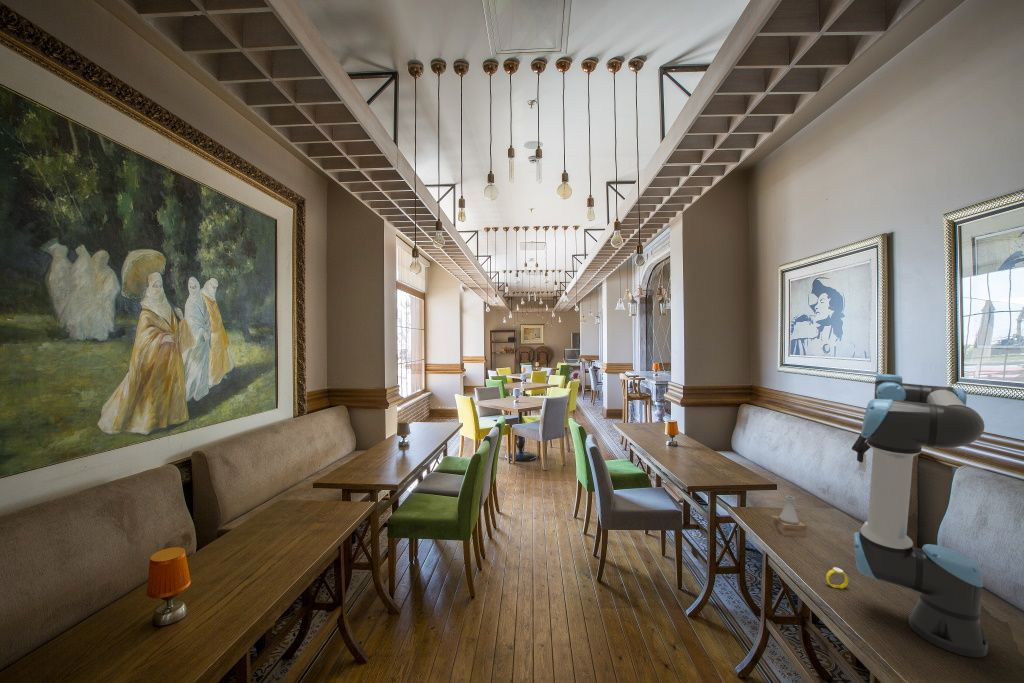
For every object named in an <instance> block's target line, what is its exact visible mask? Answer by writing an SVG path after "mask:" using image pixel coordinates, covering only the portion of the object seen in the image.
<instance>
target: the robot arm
mask: <svg viewBox="0 0 1024 683" xmlns="http://www.w3.org/2000/svg"><path fill="white" fill-rule="evenodd" d="M874 380H875V381H874V394H873V395H874V399H873V398H872V399H871V400H869V401H868V403H867V406H866V409H865V413H864V416H863V420H862V424H861V425H862V426H861V431H860V434H859V436H858V438H856V441H855V442H854V444H853V445H852V447H851V450H852V451H854V452H856V454H857V455H856V461H857V462H858V471H859V470H860V472H863V473H865V472H866V470H867V469H866V468H867V456H868V455H867V454H866V452H867V451H869V449H871V450H872V459H871V473H870V487H869V500H868V514H867V521H868V525H865V526H863V525H862V526H861V527H860V531H858V532H857V531H855V532H854V533H853V541H854V542H853V544H854V557H855V564H856V568H857V571H858V572H859V573H860V574H862V575H863V576H866V577H869V578H873V579H874V580H876V581H880V582H881V581H882V582H884V583H888V584H891V585H894V586H898V587H901V588H905V589H908V590H910V591H914V592H917V593H919V599H918V600H917V602H916V604H915V605H914V607H913V610H912V611H911V612H910V613H909V616H908V617H909V618H908V619H909V620H908V624H909V627H910V628H911V630H913V632H915V634H916V635H918V636H920V638H922V639H924V640H925V641H927V642H928V643H930V644H932V645H935V646H936V647H939V648H940V649H943V650H945V651H947V652H949V653H950V652H951V653H953V654H957V655H960V656H965V657H968V658H976V659H977V658H979V659H980V658H984V657H986V656H987V655H988V650H989V649H988V646H989V645H988V642H987V637H986V635H985V633H984V630H983V627H982V623H981V620H980V619H981V605H982V593H983V587H984V582H983V581H984V580H983V579H984V578H983V577H984V576H983V573H984V572H983V569H982V568H981V567H980V566H979V564H978V563H977V562H975V561H974V560H972V559H971V558H969V557H967V555H964V554H962V553H960V552H957V551H955V550H952V549H951V548H947V547H944V546H941V545H937V544H930V543H926V544H923V546H922V548H919V547H915V546H914V542H913V540H912V539H911V537H909V535H907V533H908V522H909V520H908V519H909V507H910V500H911V499H910V498H911V487H912V486H911V485H912V476H913V463H914V462H913V461H914V457H917V456H918V455H920V454H921V453H922V447H928V448H938V449H954V448H959V447H964V446H967V445H970V444H972V443H974V442H976V441H978V439H979V438H981V437H982V435H983V434H984V432H985V422H984V419H983V418H982V416H981V415H980V414H979V413H978V412H977V411H976V410H974V409H973V408H971V407H969V406H967V400H968V399H967V393H966V390H965V388H960V387H953V386H942V385H941V386H939V385H927V384H926V385H925V384H918V383H917V384H915V383H907V382H906V383H903V377H902V376H901V375H897V374H888V373H877V374H876V376H875V379H874Z"/></svg>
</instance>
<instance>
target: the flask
mask: <svg viewBox="0 0 1024 683" xmlns="http://www.w3.org/2000/svg"><path fill="white" fill-rule="evenodd" d="M785 498H786V499H785V500H786V501H785V504H784V507H783V508H782V511H781V512H780V514H779V515H778V516H779V519H780V520H781V521H783V522H786V523H790V524H798V523H799V521H800V520H799V517H798V515H797V514H798V513H797V512H796V508H795V507H796V506H795V503H794V502H795V497H794V496H791V495H786V496H785Z"/></svg>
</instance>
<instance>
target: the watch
mask: <svg viewBox="0 0 1024 683" xmlns="http://www.w3.org/2000/svg"><path fill="white" fill-rule="evenodd" d="M835 573H836V574H839V575H843V576H844V582H843V583H841V584H840V585H839V584H832V583H831V581H830V578H831V575H832V574H835ZM847 575H848V574H846V573H845V572H844V570H843V569H841V568H839V567H837V566H835V567H832V569H829V570H828V572H827V573H826V574H825V580H826V582H827V584H828V585H829V586H830V587H832V588H835V589H842V590H843V589H844V588H847V586H848V584H849V576H847Z"/></svg>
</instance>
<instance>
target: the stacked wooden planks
mask: <svg viewBox="0 0 1024 683" xmlns="http://www.w3.org/2000/svg"><path fill="white" fill-rule="evenodd" d="M779 516H780V515H776V514H775V515H773V514H771V515H770V527H771V528H773V529H774V531H776V532H777V533H779V534H780V535H781V536H782V537H790V538H807V531H808V530H807V528H808V527H807V525H806V524H805V523H803V522H801V521H800V520H799V523H798V524H790V523H786V522H783V521H781V520H780V519H779Z"/></svg>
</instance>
